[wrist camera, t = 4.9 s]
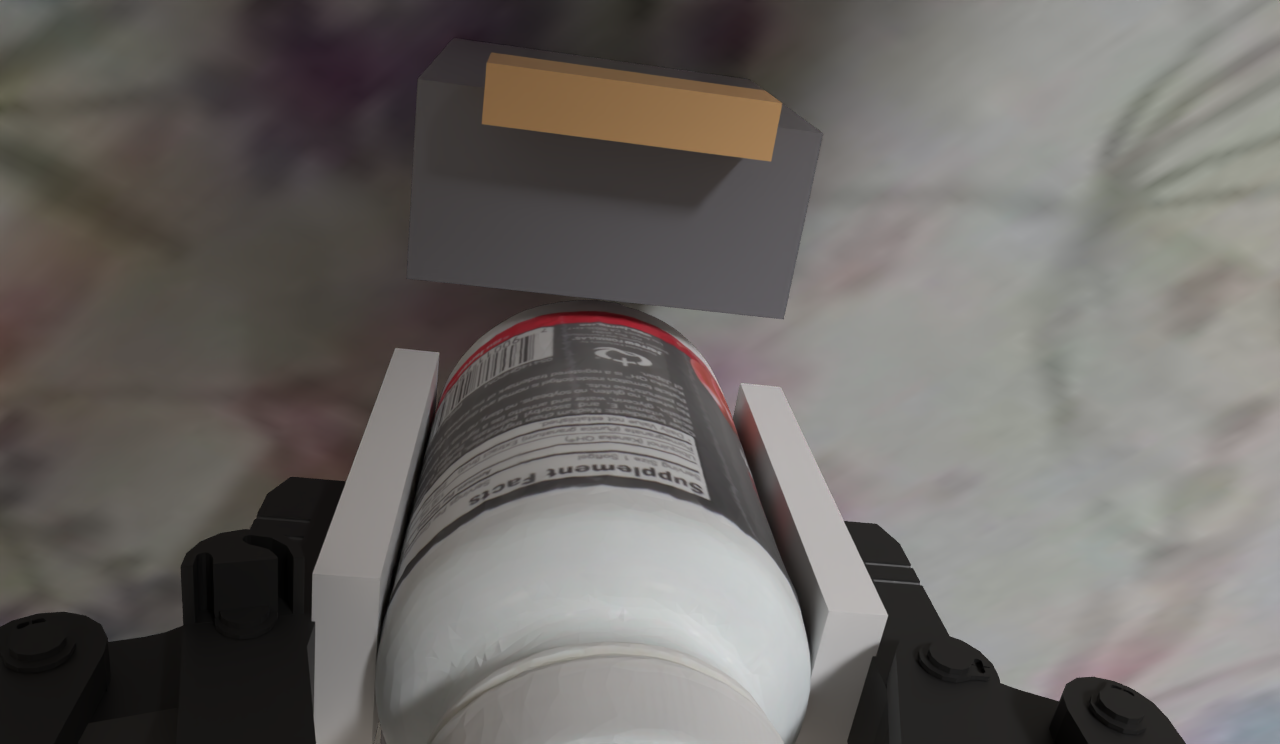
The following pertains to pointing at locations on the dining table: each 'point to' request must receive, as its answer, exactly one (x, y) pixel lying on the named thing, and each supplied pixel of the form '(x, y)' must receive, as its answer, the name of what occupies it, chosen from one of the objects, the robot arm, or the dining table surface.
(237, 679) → the robot arm
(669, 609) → the pill bottle
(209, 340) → the dining table surface
